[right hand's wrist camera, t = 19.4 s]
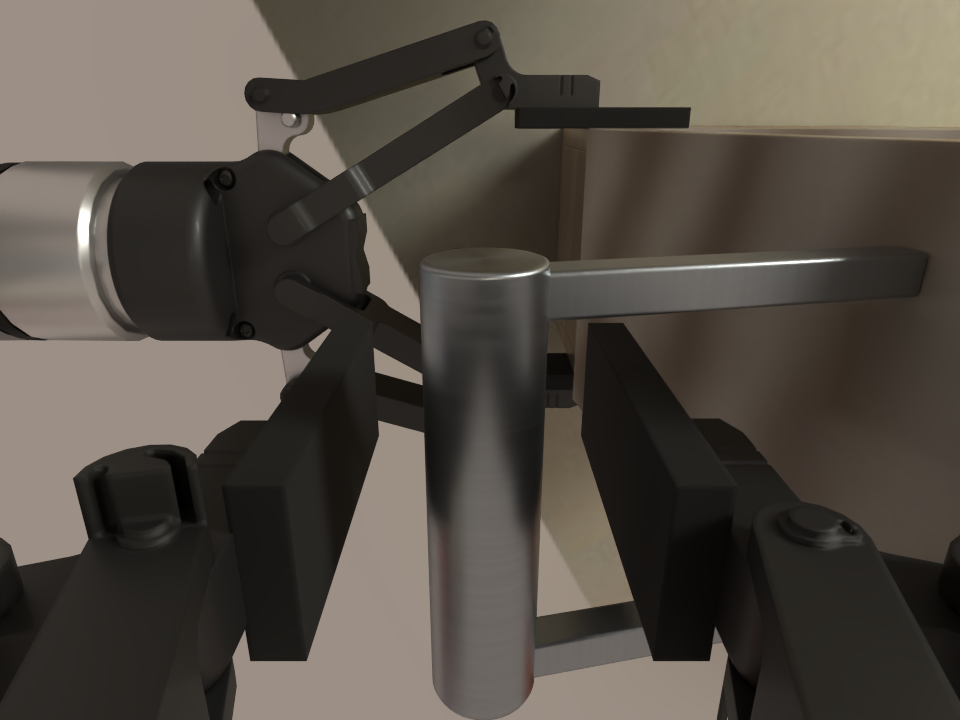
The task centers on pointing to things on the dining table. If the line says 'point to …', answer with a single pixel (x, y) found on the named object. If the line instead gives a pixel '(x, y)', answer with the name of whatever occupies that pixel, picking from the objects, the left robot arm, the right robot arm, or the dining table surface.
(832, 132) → the chest
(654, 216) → the lid
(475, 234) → the dining table surface
